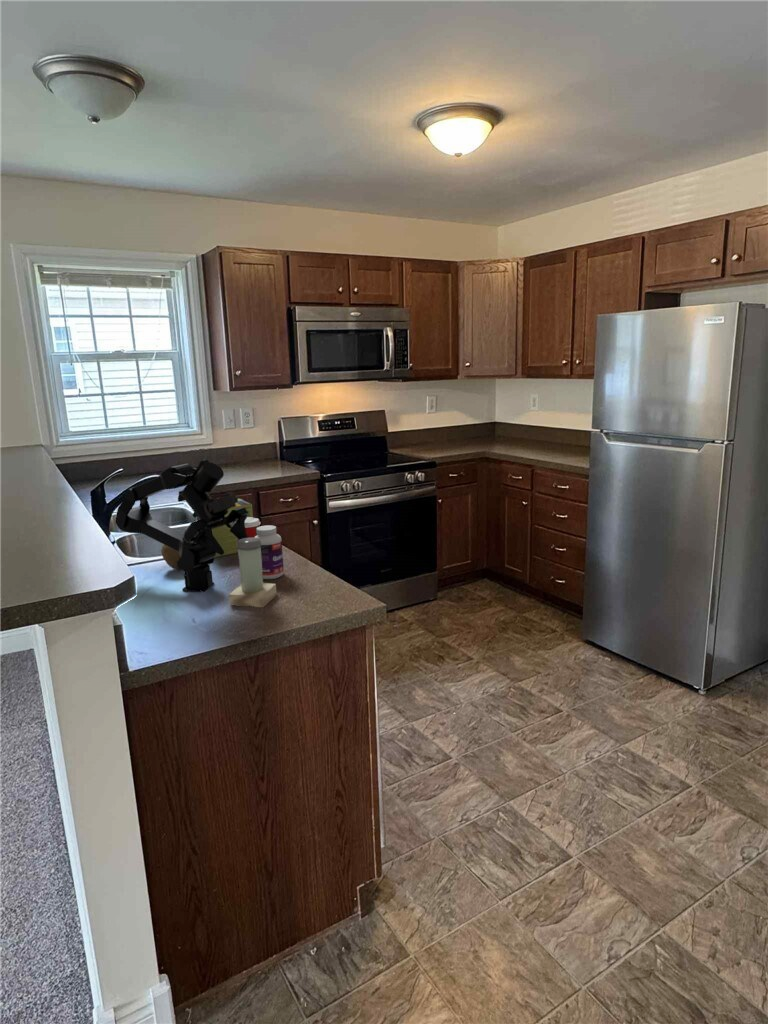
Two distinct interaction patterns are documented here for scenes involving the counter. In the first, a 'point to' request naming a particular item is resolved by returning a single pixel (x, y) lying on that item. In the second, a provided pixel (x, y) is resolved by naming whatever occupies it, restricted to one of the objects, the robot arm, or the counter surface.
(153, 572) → the counter surface
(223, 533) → the protein box
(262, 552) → the pill bottle
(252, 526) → the red label supplement bottle
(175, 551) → the natural sponge
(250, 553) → the spice jar
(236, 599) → the maple board
